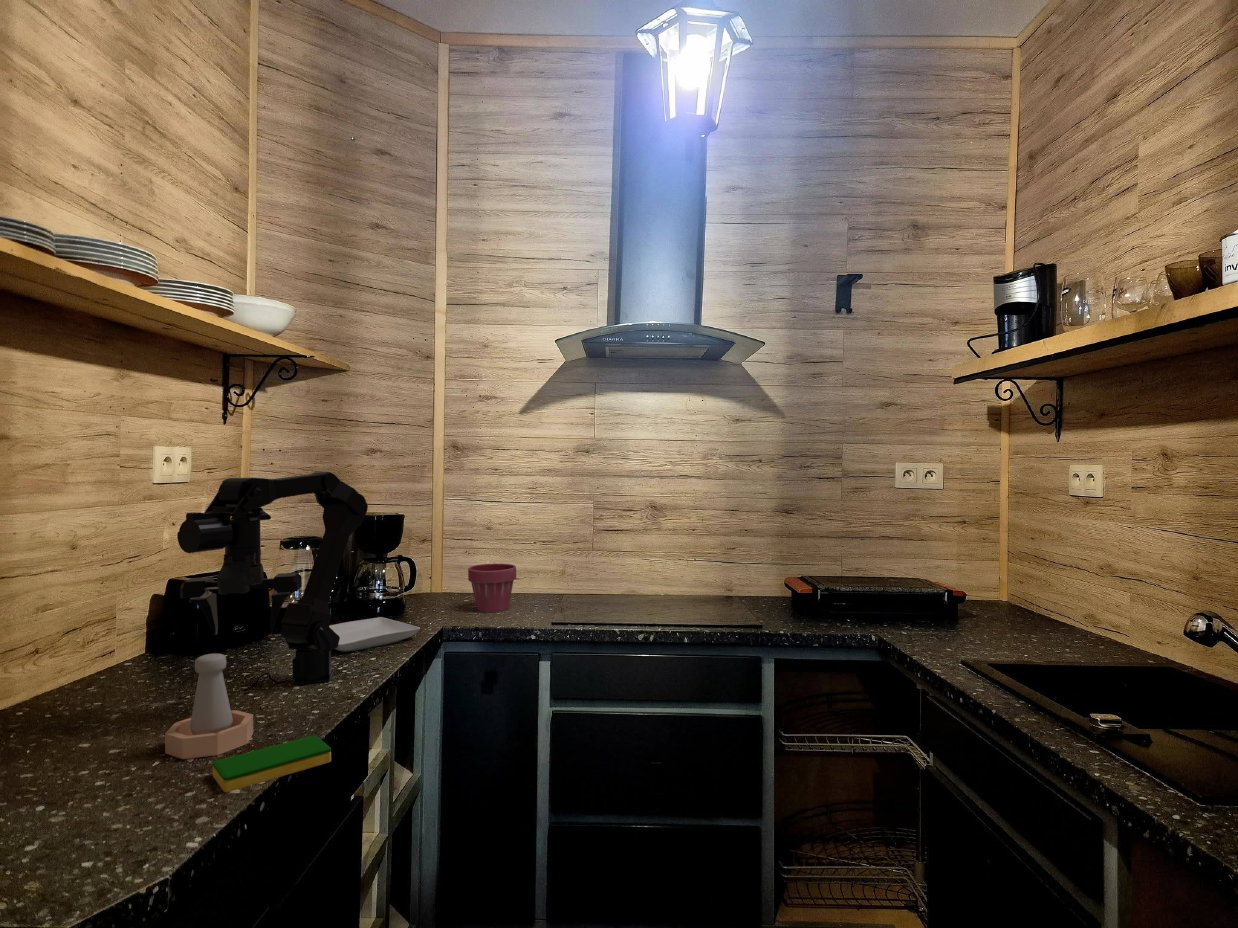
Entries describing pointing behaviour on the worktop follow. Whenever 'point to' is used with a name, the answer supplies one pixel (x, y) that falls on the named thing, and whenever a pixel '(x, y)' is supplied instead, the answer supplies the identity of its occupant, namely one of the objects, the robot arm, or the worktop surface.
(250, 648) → the worktop surface
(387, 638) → the salad plate
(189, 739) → the pink octagonal dish
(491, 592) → the plant pot
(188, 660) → the worktop surface
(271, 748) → the dish sponge
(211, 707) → the salt shaker
